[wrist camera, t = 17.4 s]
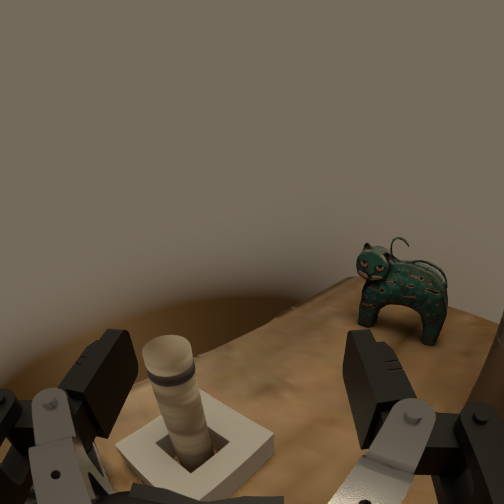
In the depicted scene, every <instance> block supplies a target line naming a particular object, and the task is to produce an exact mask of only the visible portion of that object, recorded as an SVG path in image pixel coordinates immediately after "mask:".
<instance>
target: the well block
mask: <svg viewBox="0 0 504 504" xmlns="http://www.w3.org/2000/svg"><path fill="white" fill-rule="evenodd" d="M199 391H200V396H201V401H202V405H203V410H204V414H205V419H206V423H207V427H208V432H209V436H210V440H211V444H212V447H213V448H214V449H216V450H217V451H218V453H216V454H215V455H214V456H213V457H211V458H210V459H209V460H208V461H206V462H205V463H204V464H203V465H201V466H200V467H199V468H198V469H196V470H195V471H194V472H192V473H189V472H188V471H187V470H186V469H185V468H183V467H182V466H181V465H180V464H179V463H177V462H176V461H175V460H174V459H173V458H172V457H174V456H175V455H177V453H176V451H175V448H174V446H173V443H172V441H171V438H170V436H169V433H168V430H167V428H166V425H165V422H164V420H163V417H162V415H161V416H159V417H157V418H156V419H154V420H153V421H151V422H150V423H148V424H147V425H145V426H144V427H142V428H140V429H139V430H137V431H136V432H134V433H132V434H131V435H129V436H128V437H126V438H124V439H123V440H121V441H119V442H118V443H116V444H114V445H115V446H116V448H117V450H118V451H119V453H120V455H121V456H122V458H123V460H124V461H125V463H126V464H127V466H128V467H129V468H130V469H131V470H132V471H133V472H134V473H135V474H136V475H137V476H138V477H139V478H140V479H141V480H142V481H143V482H144V483H145V484H146V485H148V486H153V487H159V488H165V489H169V490H171V491H174V492H176V493H179V494H182V495H184V496H187V497H190V498H193V499H196V500H199V501H204V502H208V501H216V500H224V499H227V498H228V497H229V496H230V495H231V494H232V493H234V492H235V491H236V490H237V489H238V488H239V487H240V486H241V485H242V484H243V483H245V482H246V481H247V480H248V479H249V478H250V477H251V476H252V475H253V474H254V473H255V472H256V471H257V470H258V469H259V468H260V467H261V466H262V465H263V464H264V463H265V462H266V461H267V460H268V459H269V458H270V457H271V456H272V455H273V454H274V433H273V432H271V431H269V430H267V429H265V428H264V427H262V426H260V425H258V424H256V423H255V422H253V421H251V420H249V419H248V418H246V417H244V416H243V415H241V414H239V413H237V412H236V411H234V410H232V409H231V408H229V407H228V406H226V405H224V404H223V403H221V402H219V401H218V400H216V399H215V398H213V397H212V396H210V395H208V394H207V393H205V392H204V391H202V390H201V389H199Z"/></svg>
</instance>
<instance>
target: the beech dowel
mask: <svg viewBox="0 0 504 504" xmlns="http://www.w3.org/2000/svg"><path fill="white" fill-rule="evenodd" d="M142 354H143V358H144V362H145V366H146V370H147V373H148V376H149V379H150V381H151V384H152V387H153V390H154V394H155V397H156V400H157V402H158V405H159V408H160V411H161V414H162V417H163V420H164V422H165V425H166V428H167V430H168V433H169V436H170V438H171V441H172V443H173V446H174V448H175V451H176V453H177V456H178V458H179V461H180V463H181V465H182V467H183V468H185V469H186V470H187V471H188V472H189V473H192V472H194V471H195V470H196V469H198V468H199V467H200V466H201V465H203V464H204V463H205V462H206V461H208V460H209V459H210V458H211V457H213V456H214V452H213V448H212V444H211V440H210V436H209V432H208V427H207V423H206V419H205V414H204V410H203V405H202V401H201V396H200V391H199V387H198V382H197V377H196V372H195V364H194V359H193V355H192V351H191V345H190V343H189V342H188V340H187V339H185V338H183V337H181V336H176V335H165V336H160V337H157V338H154V339H152V340H151V341H149V342H148V343H147V344H146V345H145V346H144V348H143V351H142Z"/></svg>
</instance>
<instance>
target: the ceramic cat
mask: <svg viewBox="0 0 504 504" xmlns="http://www.w3.org/2000/svg"><path fill="white" fill-rule="evenodd" d="M396 239H400V240H402V241H404V242H405V243H406V244H407V245H408V246H409V244H408V242H407V241H406V240H405V239H404V238H401V237H397V238H395V239H393V241H392V243H391V248H390V251H388V250H387V249H386V248H384V247H382V246H374V247H372V246H371V245H370V244H369V243H366V244H365V245H364V248H363V251H362V253H361V254H360V255H359V256H358V258H357V264H356V267H357V272H358V274H359V275H360V276H361V277H362V278H364V279H366V283H365V285H364V287H363V290H362V298H361V302H360V305H359V319H358V324H359V325H362V326H365V327H372V326H373V325H374V323H375V322H376V321H377V318H378V313H379V311H380V309H381V308H383V307H384V306H386V305H389V304H393V305H403V306H407V307H410V308H412V309H414V310H415V311H417V312H418V313H419V314H420V316H421V319H422V323H423V336H422V343H423V344H425V345H429V346H434V345H435V342H436V340H437V338H438V336H439V334H440V331H441V329H442V326H443V324H444V321H445V318H446V315H447V307H448V296H447V280H446V276H445V274H444V272H443V271H442V269H441V268H439V267H438V266H436V265H434V264H432V263H430V262H427V261H423V260H414V261H408V260H401V261H400V260H398V259H397V258H396V257H394V256H393V254H392V244H393V242H394V241H395V240H396ZM419 262H422V263H426V264H429V265H430V266H433V267H435V268H436V269H438V270H439V271H440V272H441V274H442V275H443V276H444V279H445V281H446V285H445V282H444V281H443V279H442V277H441V276H440V275H439V274H438V273H437V272H436V271H435V270H434V269H432V268H431V267H429V266H427V265H424V264H422V263H419Z"/></svg>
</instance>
